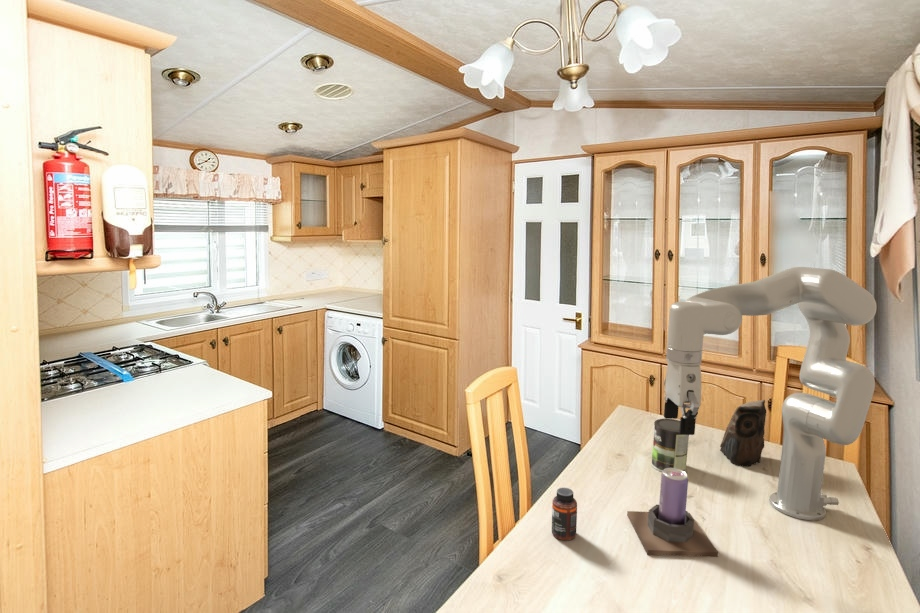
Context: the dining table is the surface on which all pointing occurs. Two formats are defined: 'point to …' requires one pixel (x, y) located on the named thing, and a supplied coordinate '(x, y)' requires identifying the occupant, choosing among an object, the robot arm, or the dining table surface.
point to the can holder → (670, 535)
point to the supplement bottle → (564, 514)
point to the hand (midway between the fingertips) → (678, 425)
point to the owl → (745, 434)
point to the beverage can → (673, 496)
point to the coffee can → (669, 445)
